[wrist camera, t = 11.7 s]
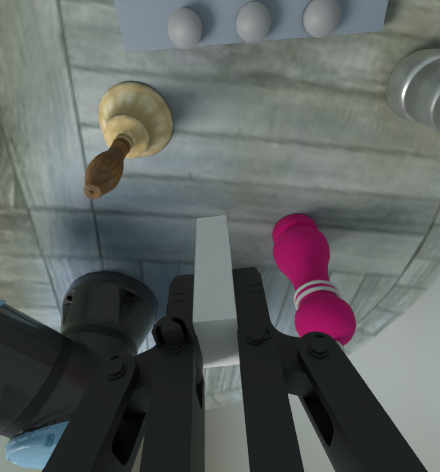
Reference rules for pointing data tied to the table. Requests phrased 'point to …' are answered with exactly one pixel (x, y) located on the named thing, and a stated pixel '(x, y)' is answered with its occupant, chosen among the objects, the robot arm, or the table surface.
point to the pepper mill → (311, 279)
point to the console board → (240, 21)
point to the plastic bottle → (417, 88)
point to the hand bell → (127, 133)
